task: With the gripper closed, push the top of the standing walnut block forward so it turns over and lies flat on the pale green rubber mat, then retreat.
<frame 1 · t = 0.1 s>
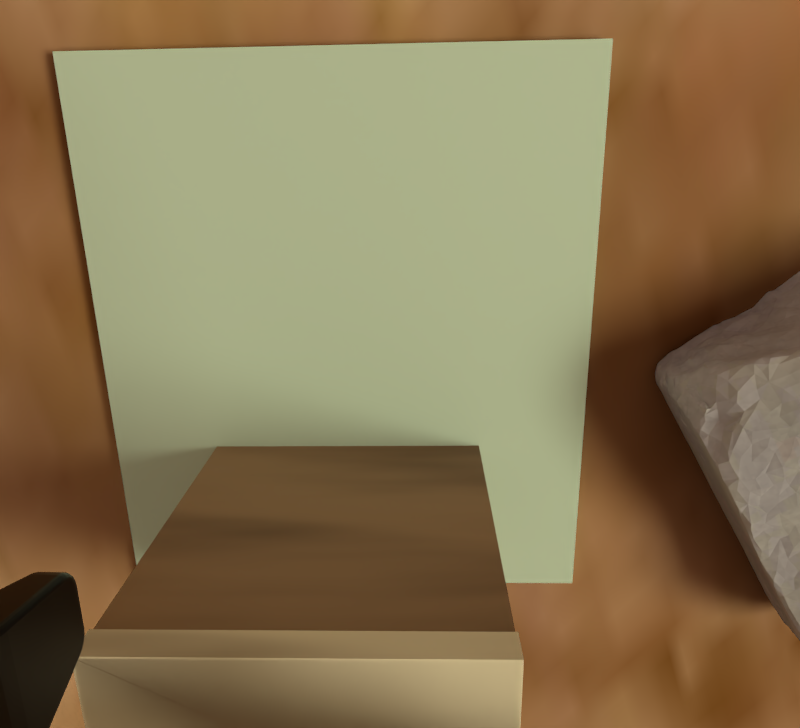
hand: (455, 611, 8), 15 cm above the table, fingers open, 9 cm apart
mat: (343, 345, 22), on the table
walnut block: (350, 510, 24), resting on mat
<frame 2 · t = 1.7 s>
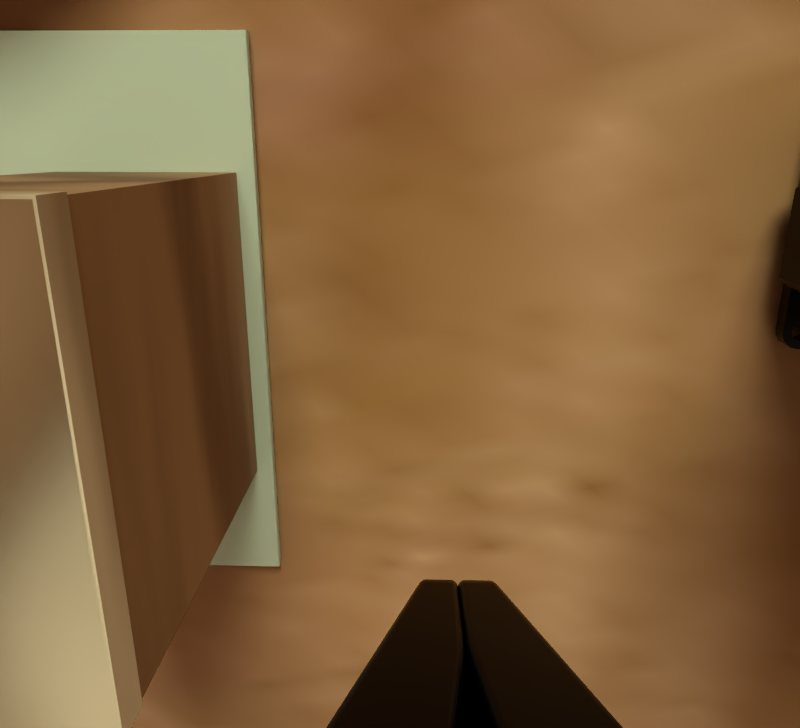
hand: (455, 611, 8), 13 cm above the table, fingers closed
walnut block: (163, 331, 20), resting on mat
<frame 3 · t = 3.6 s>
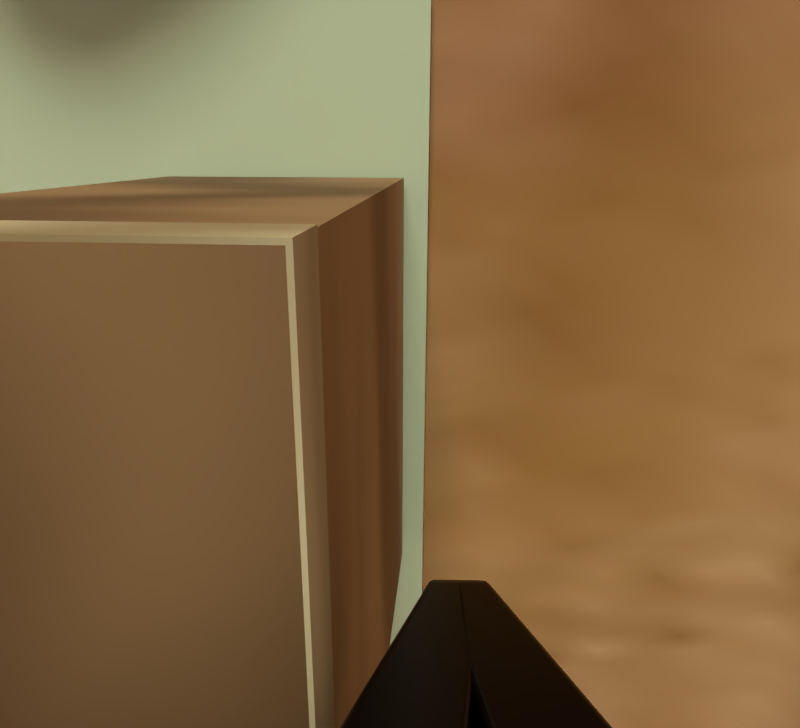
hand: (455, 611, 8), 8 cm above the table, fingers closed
mat: (49, 370, 16), on the table
walnut block: (295, 379, 15), resting on mat, touching gripper
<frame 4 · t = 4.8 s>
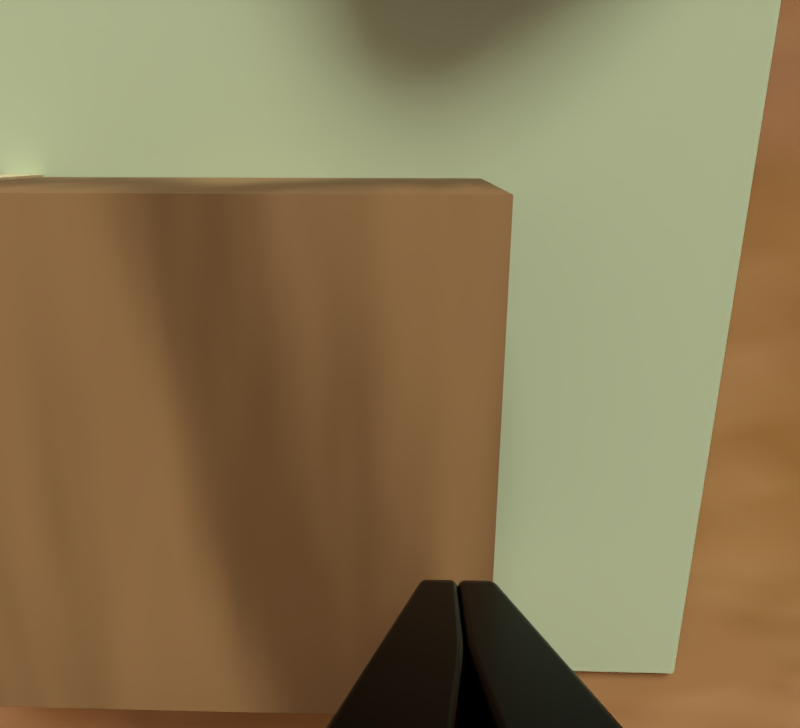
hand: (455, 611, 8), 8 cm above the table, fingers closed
mat: (322, 377, 16), on the table
walnut block: (483, 427, 13), point 3 cm above the table, tilted 90°, touching mat
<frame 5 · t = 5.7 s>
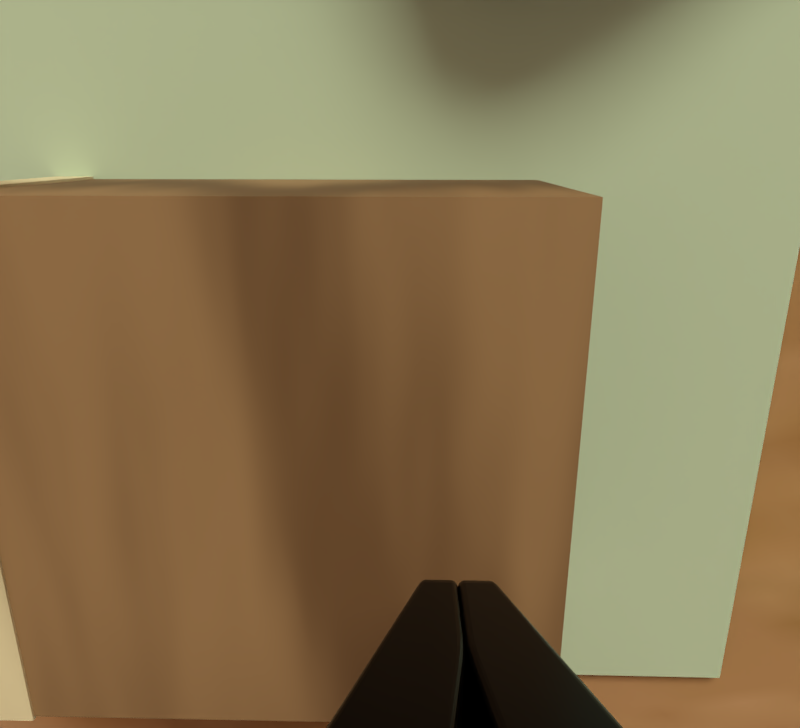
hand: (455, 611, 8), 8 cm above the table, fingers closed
mat: (371, 380, 15), on the table
walnut block: (545, 431, 13), point 3 cm above the table, tilted 90°, touching mat
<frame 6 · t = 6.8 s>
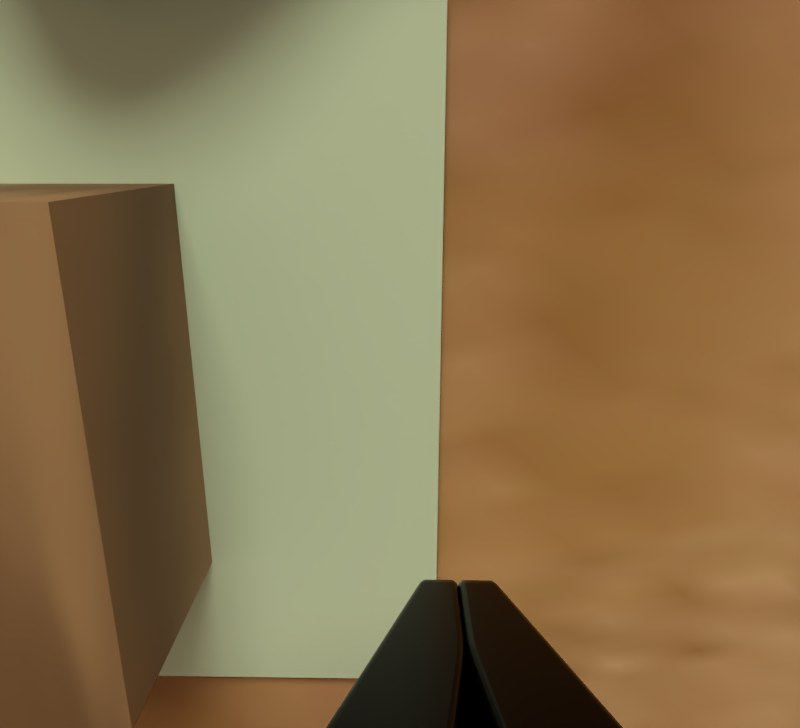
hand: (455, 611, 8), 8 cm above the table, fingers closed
mat: (48, 384, 15), on the table
walnut block: (154, 435, 13), point 3 cm above the table, tilted 90°, touching mat
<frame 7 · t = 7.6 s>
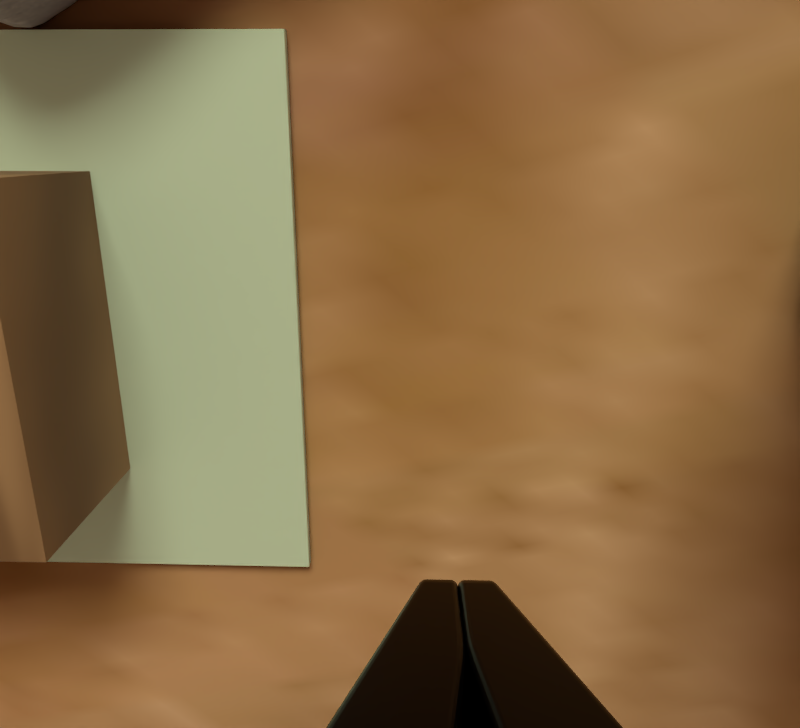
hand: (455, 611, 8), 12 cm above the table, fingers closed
mat: (1, 326, 20), on the table
walnut block: (69, 355, 17), point 3 cm above the table, tilted 90°, touching mat
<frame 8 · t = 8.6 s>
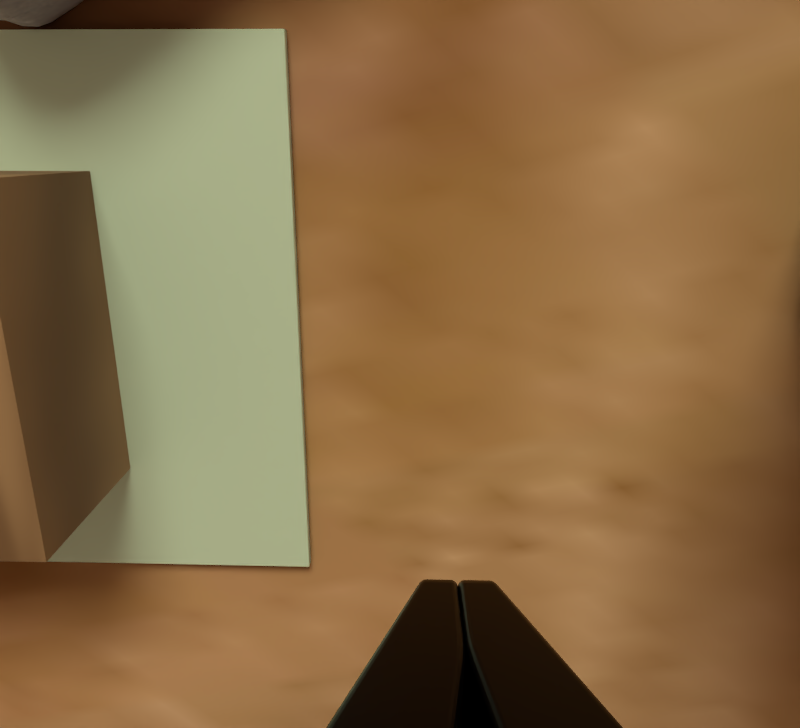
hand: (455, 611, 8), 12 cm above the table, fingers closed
mat: (1, 326, 20), on the table
walnut block: (69, 355, 17), point 3 cm above the table, tilted 90°, touching mat
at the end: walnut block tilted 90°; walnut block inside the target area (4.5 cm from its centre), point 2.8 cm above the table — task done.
